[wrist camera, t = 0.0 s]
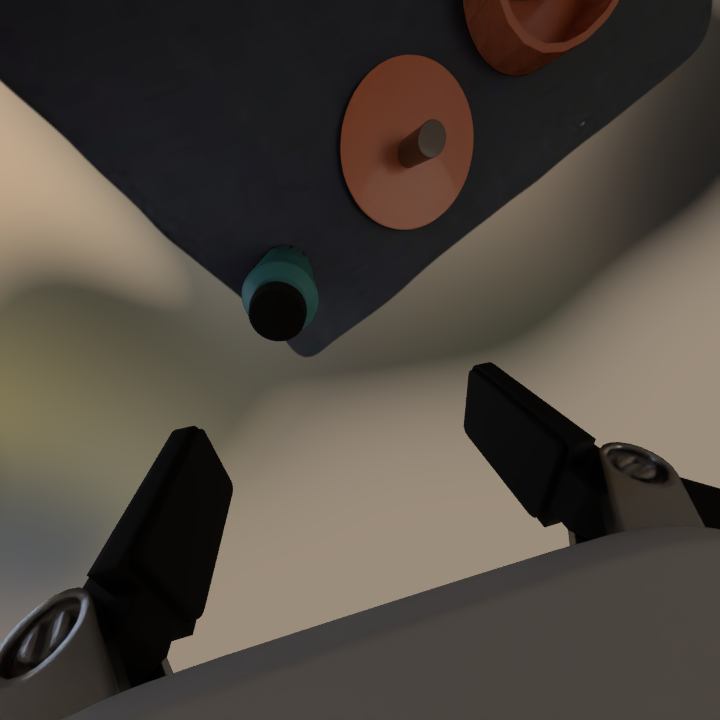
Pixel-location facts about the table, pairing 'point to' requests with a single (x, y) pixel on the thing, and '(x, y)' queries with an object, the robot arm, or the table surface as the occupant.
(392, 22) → the table surface
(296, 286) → the beverage bottle
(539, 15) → the pot
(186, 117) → the table surface
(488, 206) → the table surface
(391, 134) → the lid
